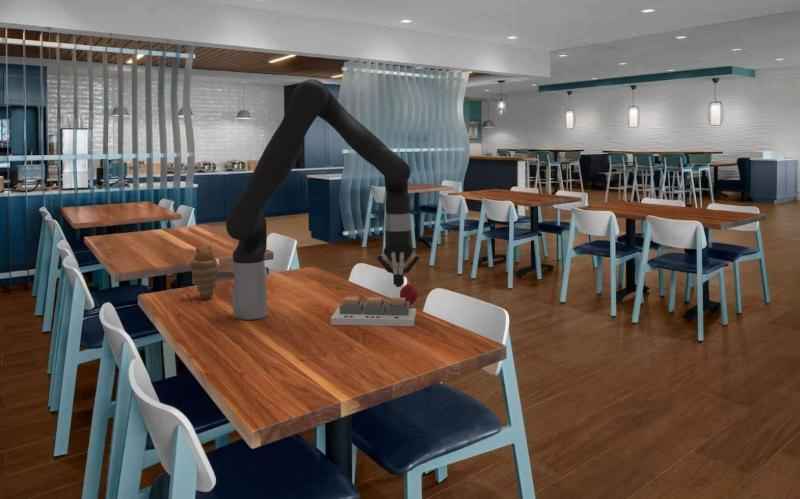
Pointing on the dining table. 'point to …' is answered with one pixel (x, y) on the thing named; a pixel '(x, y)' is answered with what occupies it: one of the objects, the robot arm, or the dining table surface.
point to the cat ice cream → (204, 271)
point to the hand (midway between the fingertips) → (398, 286)
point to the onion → (409, 293)
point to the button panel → (374, 315)
